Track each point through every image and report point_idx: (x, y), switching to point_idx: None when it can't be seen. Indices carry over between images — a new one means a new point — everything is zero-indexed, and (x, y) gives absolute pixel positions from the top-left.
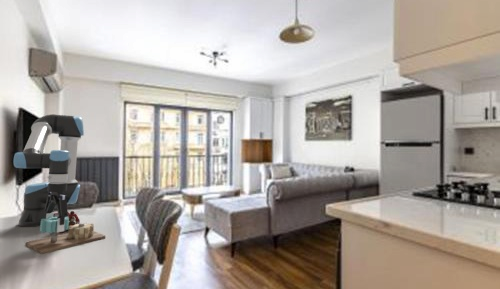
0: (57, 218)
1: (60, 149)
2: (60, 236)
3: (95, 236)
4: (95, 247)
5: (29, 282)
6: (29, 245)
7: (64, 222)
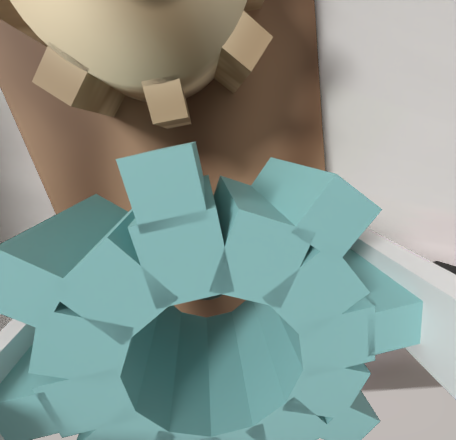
0: (135, 329)
1: None
2: (84, 167)
3: None
4: (450, 5)
5: None
6: None
7: (424, 260)
